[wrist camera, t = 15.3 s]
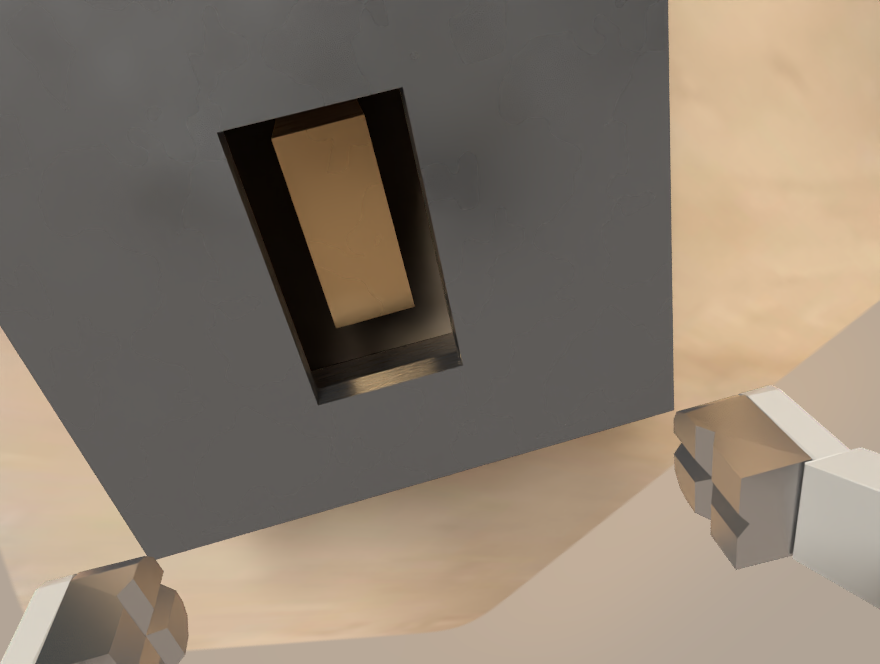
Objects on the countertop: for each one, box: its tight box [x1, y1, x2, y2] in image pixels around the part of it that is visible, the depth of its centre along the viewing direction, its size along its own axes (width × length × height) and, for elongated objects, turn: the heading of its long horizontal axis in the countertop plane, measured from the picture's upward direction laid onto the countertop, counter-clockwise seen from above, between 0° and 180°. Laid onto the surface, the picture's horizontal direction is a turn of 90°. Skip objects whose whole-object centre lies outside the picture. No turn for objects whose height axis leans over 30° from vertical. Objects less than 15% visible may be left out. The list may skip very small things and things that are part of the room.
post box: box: [0, 0, 674, 560], centre depth 22 cm, size 20×18×8 cm
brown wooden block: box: [271, 99, 415, 328], centre depth 24 cm, size 3×7×5 cm, turn 13°
